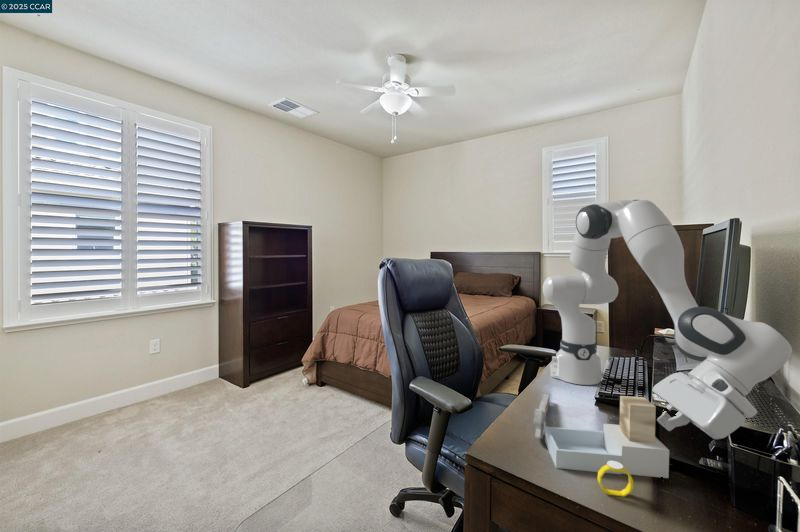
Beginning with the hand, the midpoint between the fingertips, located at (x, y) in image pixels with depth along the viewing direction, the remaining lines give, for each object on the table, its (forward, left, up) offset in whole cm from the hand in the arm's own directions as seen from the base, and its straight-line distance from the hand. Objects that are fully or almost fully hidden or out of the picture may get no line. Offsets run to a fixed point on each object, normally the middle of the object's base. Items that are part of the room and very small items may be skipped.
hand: (662, 425), depth 78 cm
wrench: (-16, -22, -9) cm, 29 cm away
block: (0, -5, -3) cm, 6 cm away
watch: (+12, -14, -9) cm, 21 cm away
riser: (0, -6, -9) cm, 10 cm away
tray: (0, -17, -9) cm, 19 cm away
